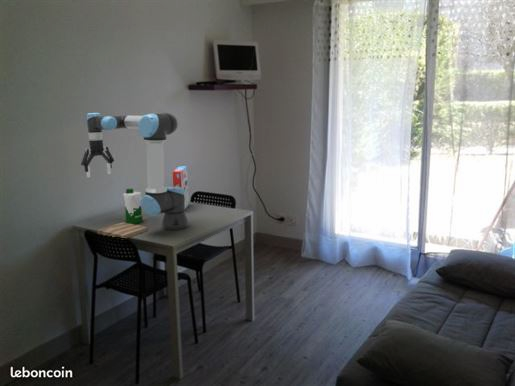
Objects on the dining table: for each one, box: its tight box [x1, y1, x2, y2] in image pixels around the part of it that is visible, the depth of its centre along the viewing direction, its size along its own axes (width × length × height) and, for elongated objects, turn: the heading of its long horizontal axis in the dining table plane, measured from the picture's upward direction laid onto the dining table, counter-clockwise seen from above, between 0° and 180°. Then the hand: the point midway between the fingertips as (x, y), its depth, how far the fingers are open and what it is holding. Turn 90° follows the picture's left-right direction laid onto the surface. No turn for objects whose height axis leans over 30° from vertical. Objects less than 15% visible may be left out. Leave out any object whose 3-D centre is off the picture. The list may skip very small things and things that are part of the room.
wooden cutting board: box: [96, 222, 148, 239], centre depth 248 cm, size 20×18×2 cm
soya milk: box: [122, 188, 144, 225], centre depth 265 cm, size 9×9×20 cm
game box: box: [172, 165, 190, 210], centre depth 295 cm, size 21×6×27 cm, turn 178°
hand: (99, 175), depth 266 cm, fingers open, 13 cm apart
